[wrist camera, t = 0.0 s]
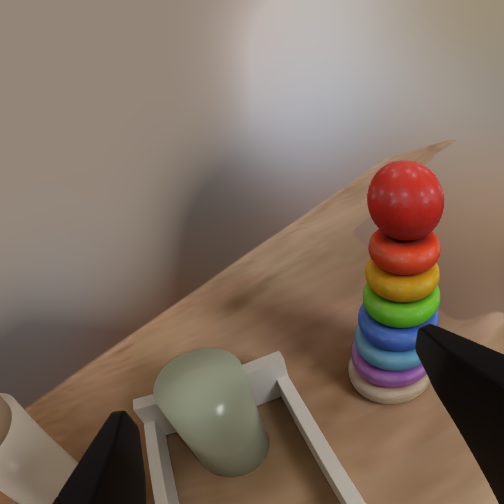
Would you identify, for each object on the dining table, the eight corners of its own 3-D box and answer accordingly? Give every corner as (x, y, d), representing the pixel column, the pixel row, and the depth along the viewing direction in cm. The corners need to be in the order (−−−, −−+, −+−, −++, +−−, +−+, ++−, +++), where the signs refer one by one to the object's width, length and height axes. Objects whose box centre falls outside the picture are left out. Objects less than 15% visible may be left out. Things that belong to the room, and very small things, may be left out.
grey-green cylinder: (276, 467, 21) (251, 406, 17) (201, 482, 20) (151, 425, 16) (261, 410, 26) (236, 338, 22) (196, 425, 26) (155, 358, 22)
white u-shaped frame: (406, 549, 12) (422, 539, 10) (185, 621, 9) (154, 622, 7) (297, 379, 28) (290, 345, 26) (144, 430, 26) (121, 402, 24)
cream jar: (127, 546, 15) (-8, 464, 9) (67, 539, 14) (-61, 452, 8) (128, 485, 20) (22, 381, 14) (73, 485, 20) (-32, 386, 14)
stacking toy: (376, 424, 22) (387, 193, 13) (333, 364, 29) (311, 164, 20) (448, 380, 23) (484, 165, 15) (400, 332, 30) (401, 144, 22)
